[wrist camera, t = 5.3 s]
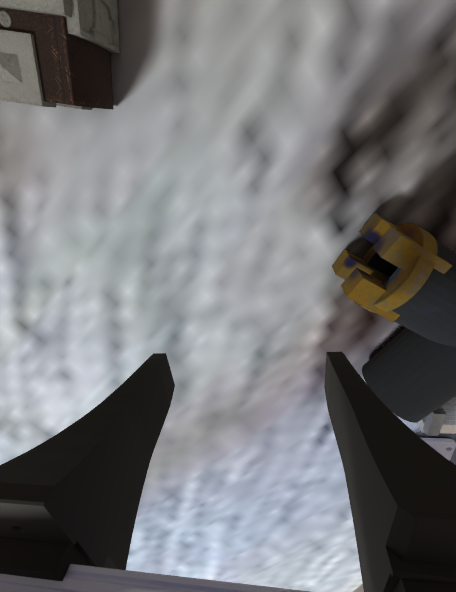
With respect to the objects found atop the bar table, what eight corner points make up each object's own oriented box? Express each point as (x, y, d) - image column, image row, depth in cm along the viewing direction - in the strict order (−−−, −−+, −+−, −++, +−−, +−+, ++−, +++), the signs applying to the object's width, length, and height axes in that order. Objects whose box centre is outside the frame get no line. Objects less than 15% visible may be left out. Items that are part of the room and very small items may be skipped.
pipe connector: (291, 367, 18) (518, 116, 11) (285, 318, 23) (443, 116, 16) (434, 435, 20) (712, 258, 13) (403, 377, 25) (595, 222, 17)
